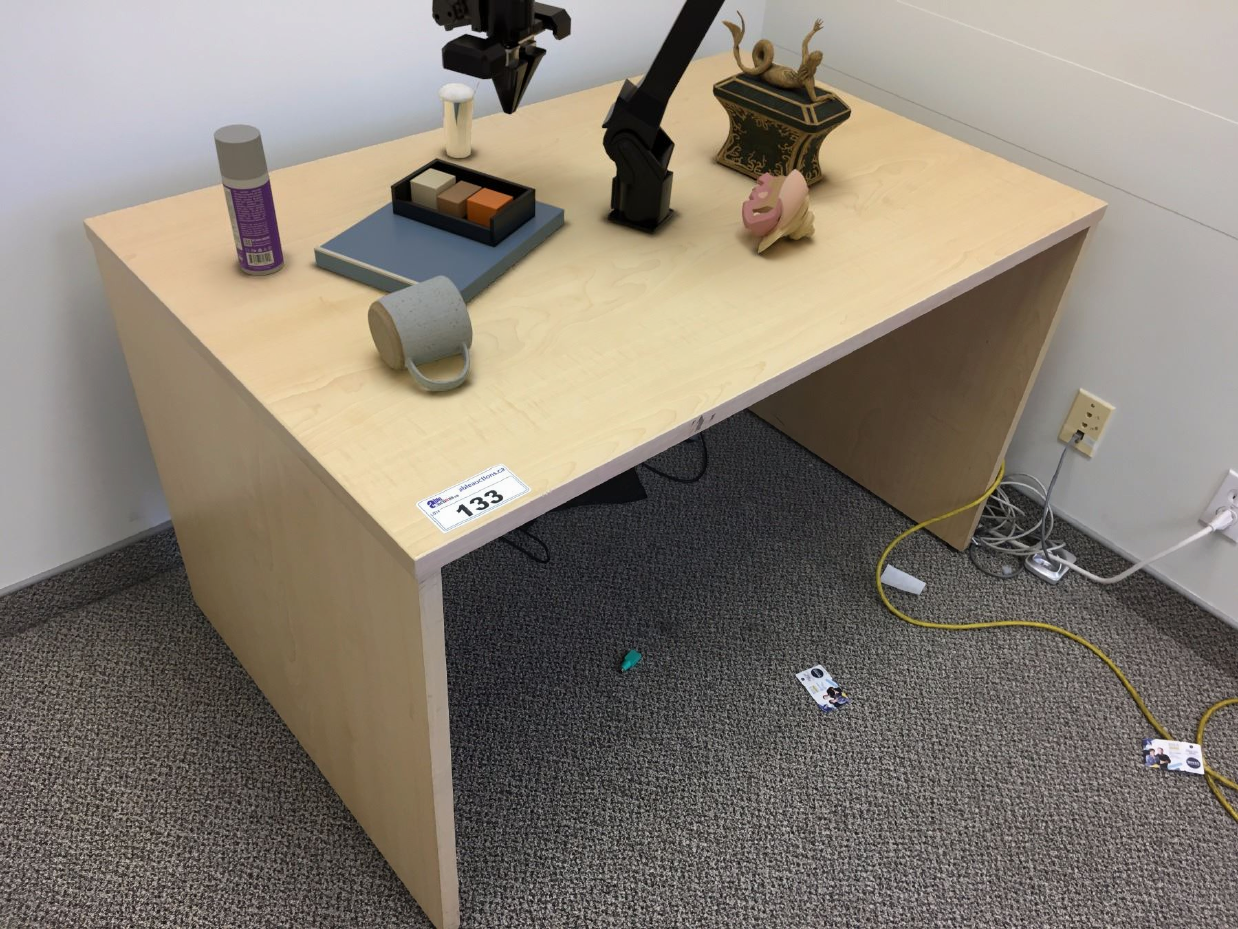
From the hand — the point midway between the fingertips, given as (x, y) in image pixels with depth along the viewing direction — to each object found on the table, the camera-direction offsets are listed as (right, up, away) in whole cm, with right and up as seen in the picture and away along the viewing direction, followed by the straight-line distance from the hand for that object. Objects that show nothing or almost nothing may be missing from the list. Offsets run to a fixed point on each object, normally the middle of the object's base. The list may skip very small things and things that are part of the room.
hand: (509, 112), depth 119 cm
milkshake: (-8, 0, +16) cm, 18 cm away
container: (-26, -20, -8) cm, 34 cm away
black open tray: (-5, -12, -1) cm, 13 cm away
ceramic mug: (-6, -32, -19) cm, 38 cm away
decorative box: (+32, -1, +20) cm, 38 cm away
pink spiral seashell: (+32, -15, +4) cm, 35 cm away
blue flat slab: (-7, -16, -2) cm, 18 cm away
